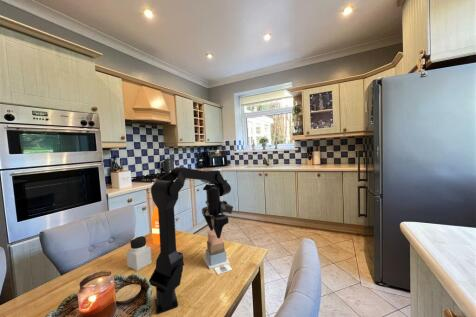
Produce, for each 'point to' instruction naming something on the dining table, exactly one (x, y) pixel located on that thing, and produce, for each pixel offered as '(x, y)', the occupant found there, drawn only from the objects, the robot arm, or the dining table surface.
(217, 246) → the walnut brick
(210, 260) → the grey square block
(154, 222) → the orange juice
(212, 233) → the terracotta brick
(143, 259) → the medicine bottle
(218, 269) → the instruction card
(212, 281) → the dining table surface
